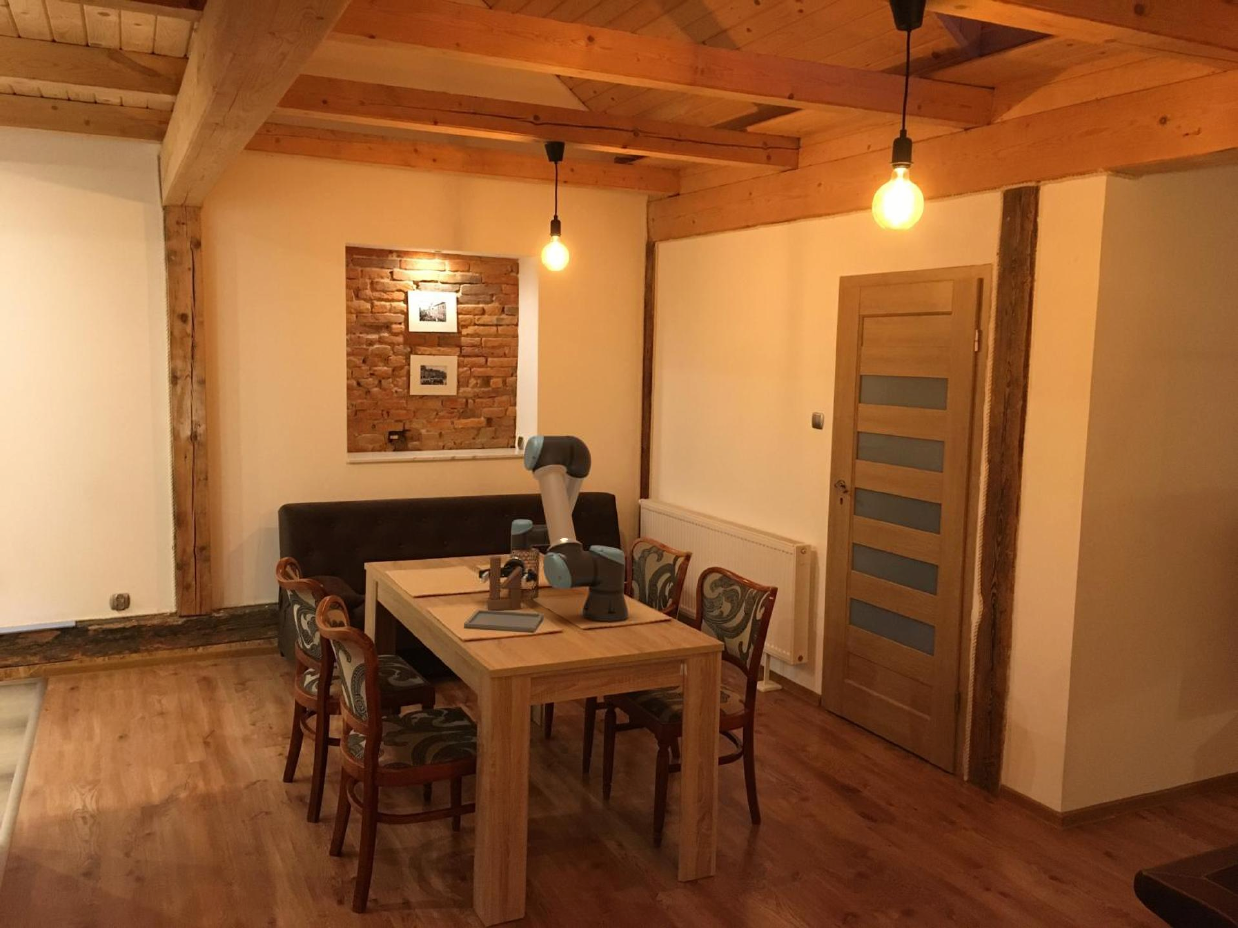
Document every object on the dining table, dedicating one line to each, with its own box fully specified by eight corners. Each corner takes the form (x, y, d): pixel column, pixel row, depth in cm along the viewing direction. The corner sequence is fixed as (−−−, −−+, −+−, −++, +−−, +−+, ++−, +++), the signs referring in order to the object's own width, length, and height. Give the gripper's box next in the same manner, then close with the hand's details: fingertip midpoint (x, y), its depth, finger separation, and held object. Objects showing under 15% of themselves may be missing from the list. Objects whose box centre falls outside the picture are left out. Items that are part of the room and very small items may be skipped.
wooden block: (521, 609, 357) (522, 556, 355) (490, 611, 353) (491, 557, 351) (517, 606, 360) (519, 554, 358) (487, 608, 356) (488, 555, 354)
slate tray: (543, 618, 346) (543, 613, 346) (533, 632, 328) (533, 627, 328) (477, 614, 348) (477, 609, 348) (464, 627, 330) (464, 623, 330)
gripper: (550, 580, 374) (539, 593, 353) (480, 576, 376) (466, 589, 355) (550, 559, 373) (540, 571, 352) (481, 555, 376) (466, 567, 355)
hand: (503, 580), depth 354 cm, fingers open, 13 cm apart
